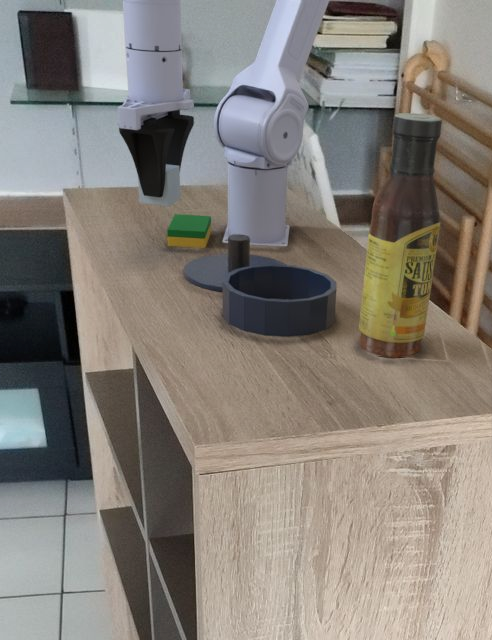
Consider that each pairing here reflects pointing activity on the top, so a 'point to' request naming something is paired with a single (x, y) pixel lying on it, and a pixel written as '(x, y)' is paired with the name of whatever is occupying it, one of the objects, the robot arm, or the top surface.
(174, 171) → the ice cube
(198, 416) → the top surface
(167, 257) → the top surface
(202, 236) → the scrubber
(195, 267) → the lid
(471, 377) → the top surface
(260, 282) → the pot
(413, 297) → the sauce bottle
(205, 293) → the top surface
